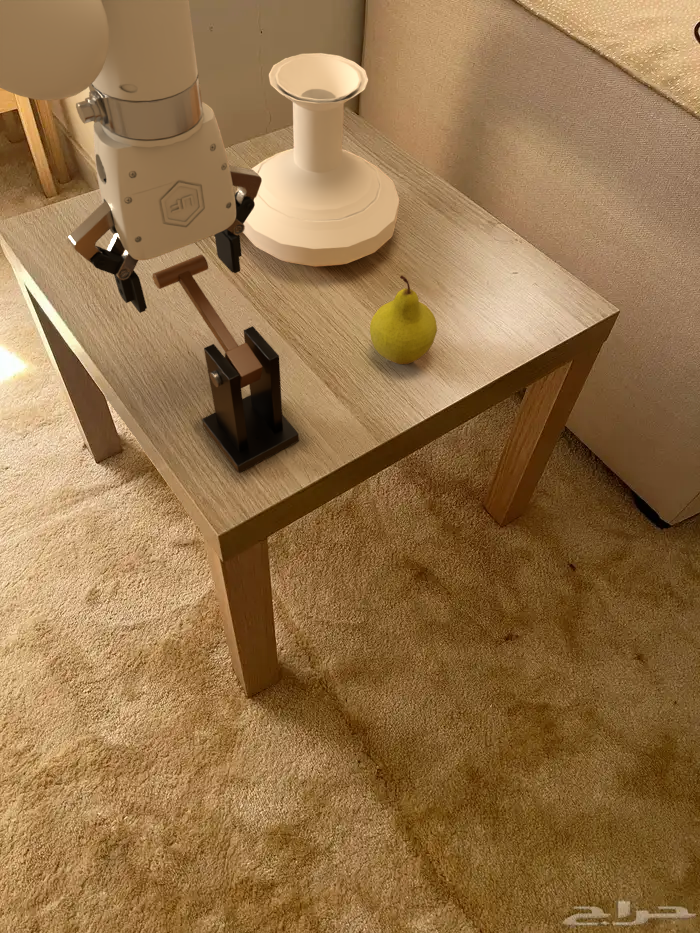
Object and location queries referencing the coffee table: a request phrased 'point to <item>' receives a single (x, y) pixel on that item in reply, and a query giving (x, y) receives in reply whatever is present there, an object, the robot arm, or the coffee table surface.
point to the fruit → (403, 328)
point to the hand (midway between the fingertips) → (183, 283)
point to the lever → (211, 317)
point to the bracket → (247, 407)
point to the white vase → (320, 173)
